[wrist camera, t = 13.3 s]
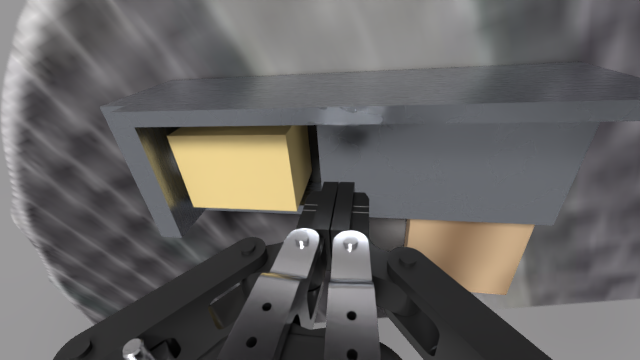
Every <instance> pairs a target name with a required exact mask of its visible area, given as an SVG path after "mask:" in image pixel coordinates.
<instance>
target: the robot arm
mask: <svg viewBox="0 0 640 360" xmlns="http://www.w3.org/2000/svg"><path fill="white" fill-rule="evenodd" d="M326 271H331V281H329V288H328V302H327V317H326V328H320V329H313V325H314V321H315V317H316V314H317V310H318V306H319V302H320V299H321V295H322V291H323V287H324V277H325V272H326ZM238 282H240V285H239V286H238V287H236V288H235V289H233V290H232V291H230V292H229V293H227V294H226V295H224V296H223V297H222V298H220V299H219V300H217V301H216V302H214V303H213V304H211V305H210V303H211V302H212V300H213V299H215V298H216V297H217V296H219V295H220V294H222V293H223V292H225V291H226V290H228V289H229V288H231V287H232V286H234V285H235V284H237V283H238ZM376 306H379V307H381V308H384V310H385V313H386V315H387V316H388V317H389V319H390V320H391V321H392V322H393V323H394V324H395V326H396V327H397V328H398V329H399V331H400V332H401V333H402V334H403V335H404V336H405V338H406V339H407V340H408V341H409V342H410V344H411V345H412V346H413V347H414V348H415V350H416V351H417V352H418V353H419V354H420V356H421V357H422V358H423V359H424V360H552V359H551V358H550V357H548V356H547V355H546V354H545V353H544V352H542V351H541V350H540V349H538V348H537V347H536V346H535V345H534V344H533V343H531V342H530V341H529V340H528V339H526V338H525V337H524V336H523V335H521V334H520V333H519V332H518V331H517V330H515V329H514V328H513V327H512V326H511V325H509V324H508V323H507V322H506V321H504V320H503V319H502V318H501V317H499V316H498V315H497V314H496V313H494V312H493V311H492V310H491V309H490V308H488V307H487V306H486V305H485V304H484V303H482V302H481V301H480V300H479V299H477V298H476V297H475V296H474V295H473V294H471V293H470V292H469V291H468V290H466V289H465V288H464V287H463V286H462V285H460V284H459V283H458V282H457V281H455V280H454V279H453V278H452V277H451V276H449V275H448V274H447V273H446V272H444V271H443V270H442V269H441V268H440V267H438V266H437V265H436V264H435V263H433V262H432V261H431V260H430V259H429V258H427V257H426V256H425V255H424V254H422V253H421V252H420V251H418V250H416V249H414V248H410V247H398V248H395V249H393V250H392V251H391V252H388V251H384V250H382V249H379V248H377V247H376V246H375V245H374V244H373V243H372V242H371V241H370V239H369V198H368V196H367V195H366V193H364V192H355V182H340V183H339V182H325V181H324V183H323V186H322V190H321V191H313V192H312V193H311V194H310V195H309V196H308V197H307V199H306V201H305V205H304V207H303V211H302V213H301V216H300V219H299V222H298V225H297V228H296V230H294V231H292V232H291V233H289V234H288V236H287V237H286V239H285V241H284V242H282V243H278V244H273V245H268V246H266V245H265V242H264V241H263V240H262V239H260V238H256V237H249V238H245V239H242V240H240V241H238V242H237V243H235V244H233V245H232V246H230V247H228V248H226V249H225V250H223V251H221V252H220V253H218V254H216V255H214V256H213V257H211V258H209V259H207V260H206V261H204V262H202V263H201V264H199V265H197V266H195V267H194V268H192V269H190V270H189V271H187V272H185V273H183V274H182V275H180V276H178V277H176V278H175V279H173V280H171V281H170V282H168V283H166V284H164V285H163V286H161V287H159V288H158V289H156V290H154V291H152V292H151V293H149V294H147V295H146V296H144V297H142V298H140V299H139V300H137V301H135V302H133V303H132V304H130V305H128V306H127V307H125V308H123V309H121V310H120V311H118V312H116V313H115V314H113V315H111V316H109V317H108V318H106V319H104V320H102V321H101V322H99V323H97V324H96V325H94V326H92V327H91V328H89V329H87V330H85V331H84V332H82V333H80V334H78V335H77V336H75V337H74V338H72V339H71V340H70V341H68V342H67V343H66V344H65V345H64V346H63V347H62V348H61V349H60V351H59V352H58V353H57V354H56V356H55V357H54V359H53V360H402V359H401V358H400V357H399V355H397V354H396V353H395V352H394V351H393V350H392V349H390V348H389V347H387V346H386V345H384V344H383V343H381V342H379V332H378V322H377V311H376Z"/></svg>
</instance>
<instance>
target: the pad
mask: <svg viewBox="0 0 640 360" xmlns="http://www.w3.org/2000/svg"><path fill="white" fill-rule="evenodd" d="M534 226H535V225H534V224H511V223H489V222H466V221H444V220H421V219H407V225H406V234H405V243H404V247H410V248H414V249H416V250H418V251H420V252H421V253H422V254H424V255H425V256H426V257H427V258H429V259H430V260H431V261H432V262H433V263H435V264H436V265H437V266H438V267H440V268H441V269H442V270H443V271H444V272H446V273H447V274H448V275H449V276H451V277H452V278H453V279H454V280H455V281H457V282H458V283H459V284H460V285H462V286H463V287H464V288H465V289H466V290H468V291H469V292H477V293H489V294H501V295H506V294H507V291H508V289H509V286H510V284H511V282H512V279H513V277H514V274H515V272H516V269H517V267H518V265H519V262H520V260H521V257H522V255H523V252H524V250H525V248H526V245H527V243H528V240H529V238H530V235H531V233H532V231H533V228H534Z"/></svg>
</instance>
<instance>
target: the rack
mask: <svg viewBox="0 0 640 360" xmlns="http://www.w3.org/2000/svg"><path fill="white" fill-rule="evenodd" d="M100 108H101V110H102V113H103V115H104V117H105V119H106V121H107V123H108V125H109V127H110V129H111V131H112V133H113V135H114V138H115V140H116V142H117V144H118V146H119V148H120V150H121V152H122V154H123V156H124V158H125V161H126V163H127V165H128V167H129V169H130V171H131V173H132V175H133V177H134V179H135V181H136V183H137V186H138V188H139V190H140V192H141V194H142V196H143V198H144V200H145V202H146V204H147V206H148V208H149V211H150V213H151V215H152V217H153V219H154V221H155V223H156V225H157V227H158V229H159V231H160V233H161V236H164V237H180V238H182V237H183V236H184V235H185V234H186V232H187V231H188V230H189V229H190V227H191V226H192V225H193V224H194V223H195V221H196V220H197V219H198V218H199V217H200V215H201V214H202V213H203V212H204V211H205V210H219V211H241V212H264V213H286V214H301V213H302V211H303V207H304V205H305V201H306V199H307V197H308V196H309V195H310V194H311V193H312V192H313V191H321V190H322V186H323V183H324V181H325V182H339V183H340V182H355V192H364V193H366V195H367V196H368V198H369V217H376V218H399V219H421V220H444V221H466V222H489V223H511V224H534V225H554V222H555V220H556V218H557V216H558V214H559V211H560V209H561V207H562V205H563V203H564V200H565V198H566V196H567V194H568V192H569V189H570V187H571V185H572V183H573V181H574V178H575V176H576V174H577V172H578V170H579V167H580V165H581V163H582V161H583V159H584V156H585V154H586V152H587V150H588V148H589V145H590V143H591V141H592V139H593V137H594V134H595V132H596V130H597V128H598V126H599V123H600V121H640V78H638V77H635V76H631V75H627V74H624V73H620V72H616V71H613V70H609V69H605V68H602V67H598V66H595V65H591V64H587V63H584V62H565V63H543V64H521V65H498V66H476V67H454V68H432V69H410V70H388V71H366V72H344V73H322V74H299V75H277V76H255V77H233V78H211V79H189V80H171V81H168V82H165V83H162V84H160V85H157V86H154V87H152V88H149V89H146V90H143V91H141V92H138V93H135V94H133V95H130V96H127V97H125V98H122V99H119V100H116V101H114V102H111V103H108V104H106V105H103V106H100ZM280 125H317V137H318V149H319V161H320V173H321V183H307V186H306V188H305V191H304V194H303V196H302V199H301V202H300V204H299V207H298V210H297V211H278V210H253V209H228V208H203V207H194V206H193V204H192V201H191V199H190V196H189V193H188V191H187V188H186V185H185V183H184V180H183V178H182V175H181V172H180V170H179V167H178V164H177V162H176V159H175V156H174V154H173V151H172V149H171V146H170V143H169V141H168V138H167V136H168V135H169V134H171V133H172V132H174V131H176V130H177V129H179V128H180V127H201V126H280Z"/></svg>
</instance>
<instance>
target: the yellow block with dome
mask: <svg viewBox="0 0 640 360" xmlns="http://www.w3.org/2000/svg"><path fill="white" fill-rule="evenodd" d="M167 138H168V141H169V143H170V146H171V149H172V151H173V154H174V156H175V159H176V162H177V164H178V167H179V170H180V172H181V175H182V178H183V180H184V183H185V185H186V188H187V191H188V193H189V196H190V199H191V201H192V204H193V206H194V207H203V208H228V209H253V210H278V211H297V210H298V207H299V204H300V202H301V199H302V196H303V194H304V191H305V188H306V186H307V183H308V181H309V178H310V175H311V173H312V166H311V156H310V147H309V137H308V128H307V125H280V126H201V127H180V128H179V129H177V130H176V131H174V132H172V133H171V134H169V135H168V136H167Z"/></svg>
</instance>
